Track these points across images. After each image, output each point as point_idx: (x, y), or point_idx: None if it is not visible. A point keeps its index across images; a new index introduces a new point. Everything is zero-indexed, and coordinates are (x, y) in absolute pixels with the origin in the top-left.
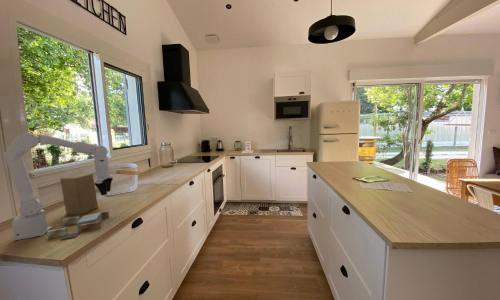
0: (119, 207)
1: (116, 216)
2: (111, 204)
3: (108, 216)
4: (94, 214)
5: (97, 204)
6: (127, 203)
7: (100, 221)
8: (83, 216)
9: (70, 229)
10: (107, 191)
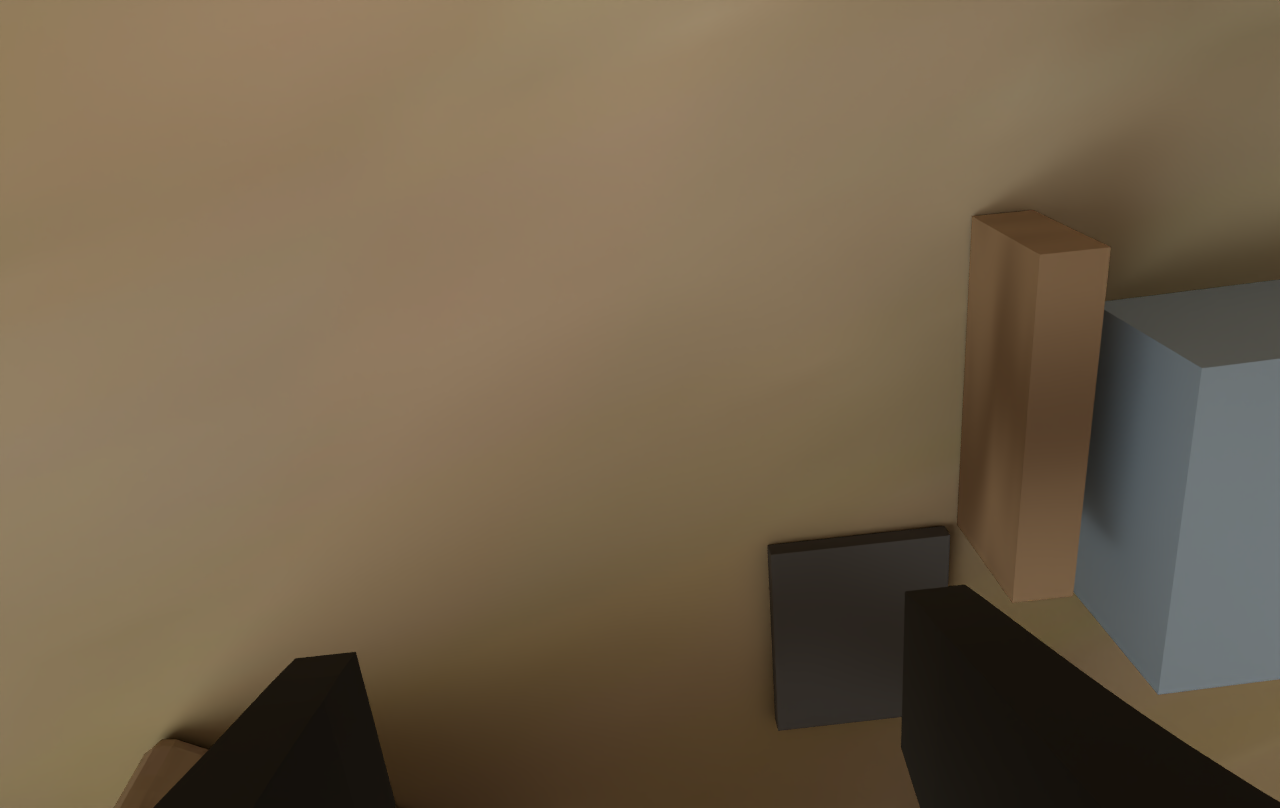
0: (351, 176)
1: (1080, 4)
2: (19, 501)
3: (1022, 215)
4: (1251, 485)
5: (137, 786)
6: (28, 29)
7: (1245, 289)
8: (1221, 675)
9: (1245, 690)
10: (378, 744)
